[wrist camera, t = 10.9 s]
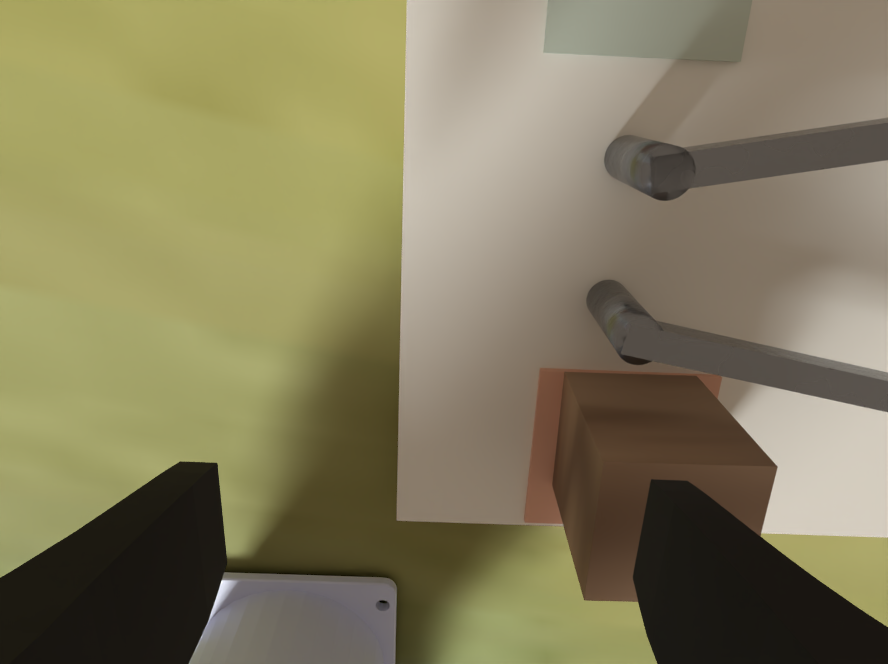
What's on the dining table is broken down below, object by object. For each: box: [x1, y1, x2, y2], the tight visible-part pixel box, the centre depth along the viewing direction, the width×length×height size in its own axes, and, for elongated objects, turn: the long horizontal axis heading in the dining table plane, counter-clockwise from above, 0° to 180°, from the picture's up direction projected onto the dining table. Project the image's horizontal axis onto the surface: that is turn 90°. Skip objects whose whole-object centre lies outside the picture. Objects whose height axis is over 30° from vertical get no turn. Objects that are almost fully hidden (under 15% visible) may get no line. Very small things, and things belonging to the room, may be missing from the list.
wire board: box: [397, 0, 888, 537], centre depth 19 cm, size 20×18×2 cm
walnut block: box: [552, 372, 778, 602], centre depth 18 cm, size 4×4×5 cm
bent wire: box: [586, 118, 888, 412], centre depth 16 cm, size 8×9×4 cm
